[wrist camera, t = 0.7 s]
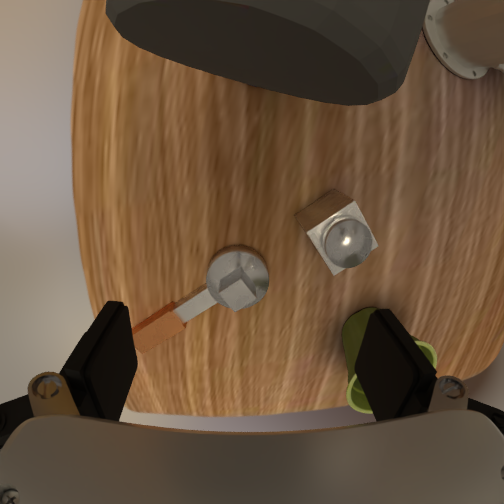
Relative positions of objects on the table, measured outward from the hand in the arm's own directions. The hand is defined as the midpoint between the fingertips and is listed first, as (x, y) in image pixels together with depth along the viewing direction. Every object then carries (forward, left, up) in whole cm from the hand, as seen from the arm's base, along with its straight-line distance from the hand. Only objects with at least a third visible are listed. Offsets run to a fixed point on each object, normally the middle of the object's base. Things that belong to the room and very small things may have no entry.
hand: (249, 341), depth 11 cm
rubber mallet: (+1, -15, -24) cm, 28 cm away
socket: (-10, 0, -24) cm, 26 cm away
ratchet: (+4, +13, -24) cm, 28 cm away
